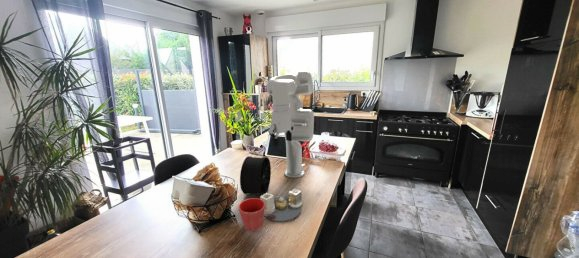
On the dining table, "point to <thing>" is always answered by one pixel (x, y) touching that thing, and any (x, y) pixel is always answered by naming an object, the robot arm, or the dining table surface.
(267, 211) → the open ended square duct
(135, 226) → the dining table surface
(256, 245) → the dining table surface
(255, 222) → the flower pot
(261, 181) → the car wheel rim
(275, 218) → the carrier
